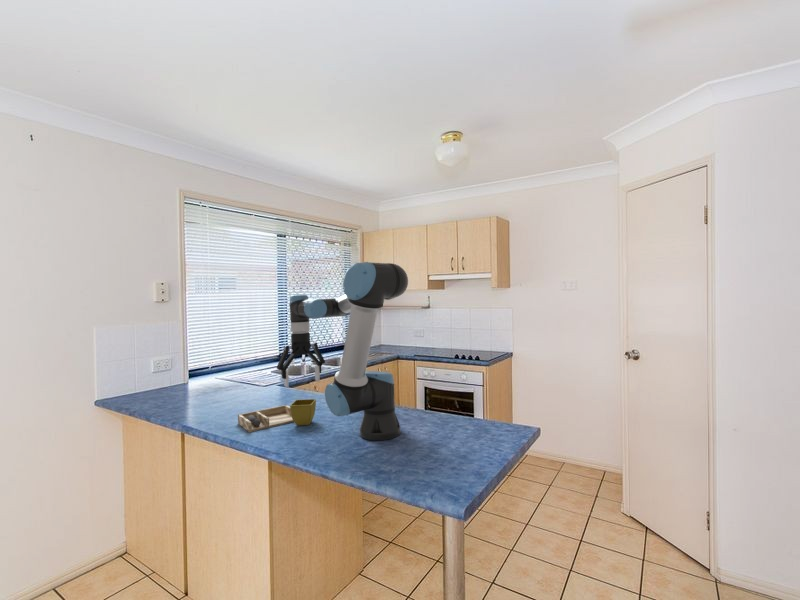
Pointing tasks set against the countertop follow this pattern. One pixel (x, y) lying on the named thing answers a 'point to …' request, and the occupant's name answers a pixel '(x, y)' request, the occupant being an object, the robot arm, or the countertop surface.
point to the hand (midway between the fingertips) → (302, 383)
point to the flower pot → (303, 411)
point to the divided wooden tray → (266, 418)
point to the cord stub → (253, 420)
